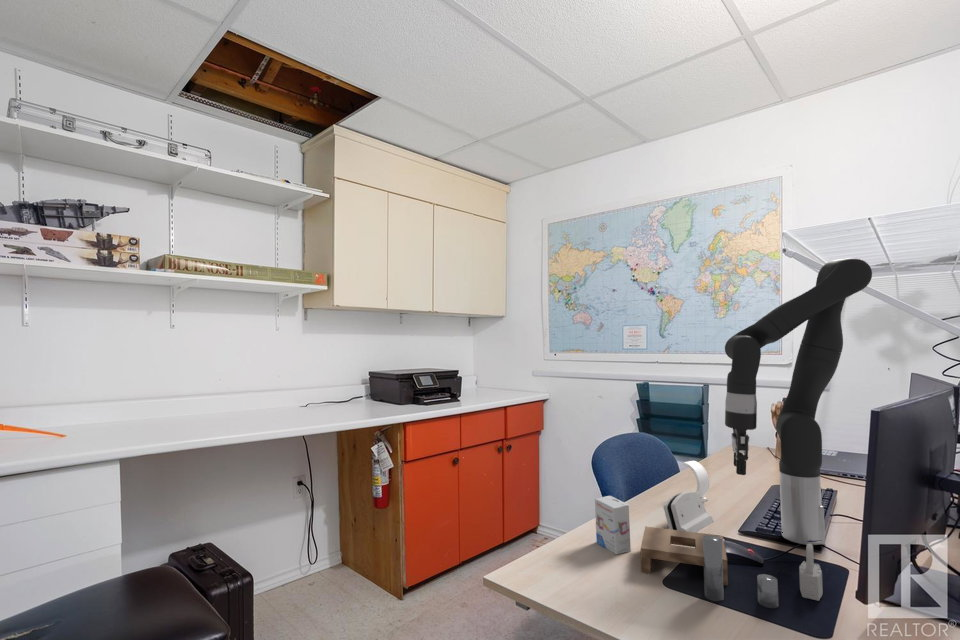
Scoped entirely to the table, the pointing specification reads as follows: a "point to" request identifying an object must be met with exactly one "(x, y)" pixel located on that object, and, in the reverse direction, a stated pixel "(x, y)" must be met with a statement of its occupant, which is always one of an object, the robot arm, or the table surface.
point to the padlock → (810, 576)
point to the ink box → (612, 524)
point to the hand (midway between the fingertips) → (739, 470)
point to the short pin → (767, 591)
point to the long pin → (713, 568)
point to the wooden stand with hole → (675, 548)
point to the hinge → (686, 512)
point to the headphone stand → (699, 478)
